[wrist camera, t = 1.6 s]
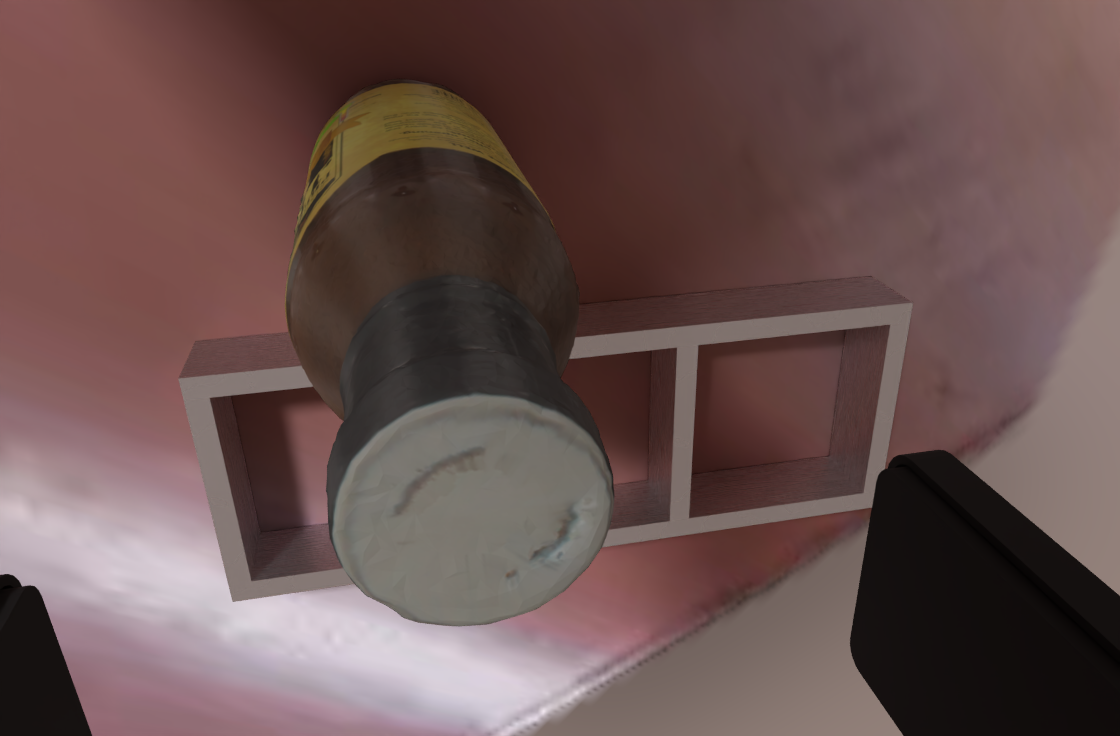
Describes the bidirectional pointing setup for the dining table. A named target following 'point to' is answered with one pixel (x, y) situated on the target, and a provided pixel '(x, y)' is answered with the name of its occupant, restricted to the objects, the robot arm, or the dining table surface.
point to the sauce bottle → (443, 363)
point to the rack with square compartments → (670, 490)
